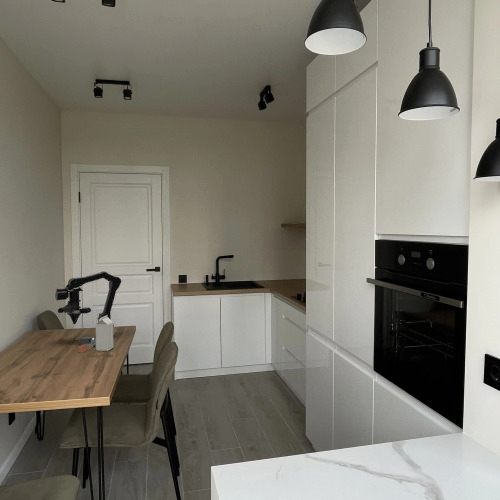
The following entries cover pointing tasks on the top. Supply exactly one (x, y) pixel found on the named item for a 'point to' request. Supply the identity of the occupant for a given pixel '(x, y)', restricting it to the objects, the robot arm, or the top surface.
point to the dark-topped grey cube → (84, 340)
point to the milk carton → (104, 334)
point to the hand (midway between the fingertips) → (74, 324)
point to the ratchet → (88, 345)
